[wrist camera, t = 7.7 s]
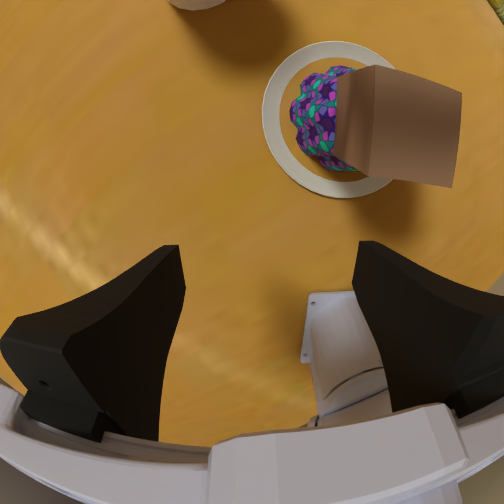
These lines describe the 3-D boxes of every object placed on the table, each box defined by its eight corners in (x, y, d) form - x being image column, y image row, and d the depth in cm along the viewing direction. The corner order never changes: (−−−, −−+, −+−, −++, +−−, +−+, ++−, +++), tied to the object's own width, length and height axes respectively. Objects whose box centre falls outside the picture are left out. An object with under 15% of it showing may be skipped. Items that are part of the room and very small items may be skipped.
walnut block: (402, 163, 14) (451, 188, 10) (333, 155, 14) (368, 176, 10) (408, 92, 12) (461, 93, 8) (337, 76, 12) (375, 64, 8)
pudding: (434, 115, 17) (475, 122, 12) (354, 223, 22) (378, 254, 17) (320, 14, 14) (341, -11, 9) (228, 137, 19) (220, 145, 14)
